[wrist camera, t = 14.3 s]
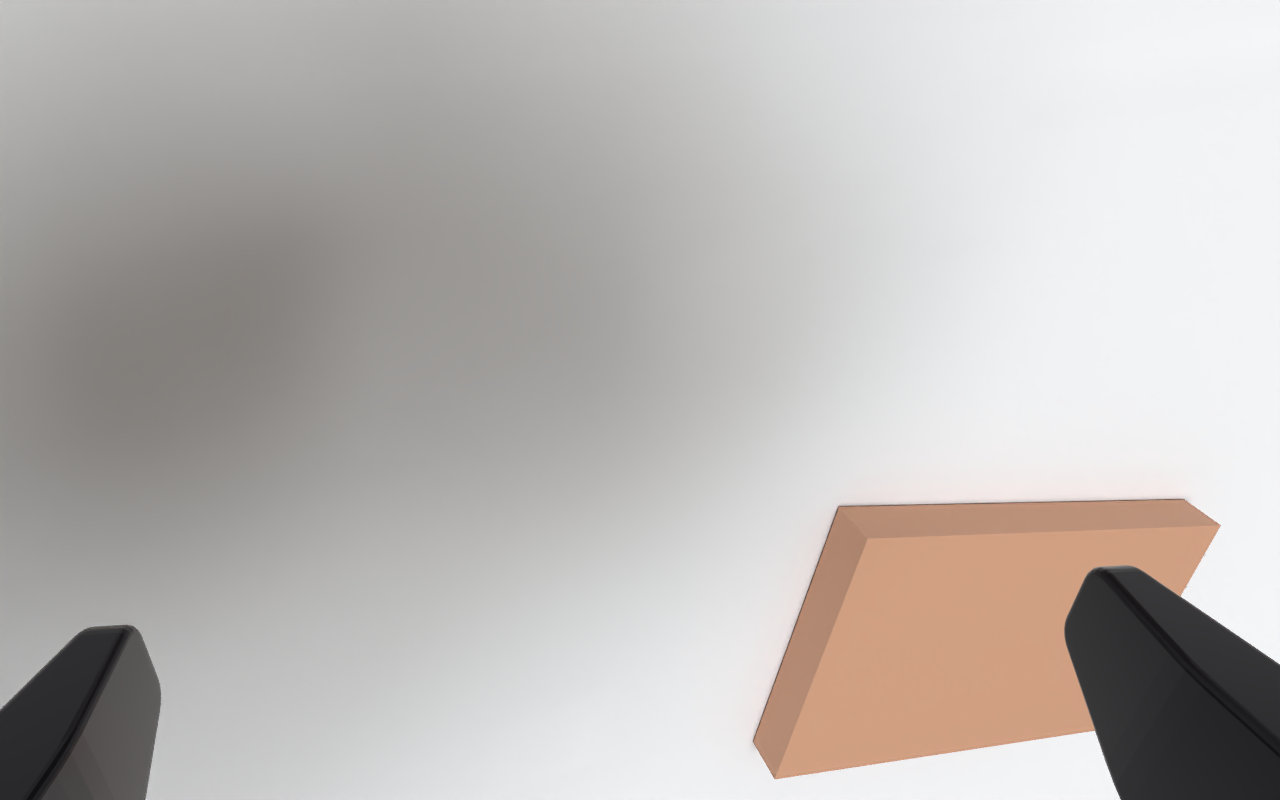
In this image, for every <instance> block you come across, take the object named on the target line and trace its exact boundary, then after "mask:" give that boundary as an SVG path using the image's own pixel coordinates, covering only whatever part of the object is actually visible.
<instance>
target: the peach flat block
mask: <svg viewBox="0 0 1280 800" xmlns="http://www.w3.org/2000/svg"><path fill="white" fill-rule="evenodd" d="M1220 526H1221V525H1219V524H1218V523H1217V522H1215V521H1214V520H1212V519H1211V518H1210V517H1208V516H1207V515H1205V514H1204V513H1203V512H1201V511H1200V510H1198V509H1197V508H1195V507H1194V506H1193V505H1191V504H1190V503H1188V502H1187V501H1186V500H1137V501H1090V502H1043V503H996V504H949V505H902V506H855V507H839V508H838V511H837V514H836V517H835V519H834V522H833V525H832V527H831V530H830V533H829V536H828V538H827V541H826V544H825V547H824V549H823V552H822V555H821V558H820V560H819V563H818V566H817V569H816V571H815V574H814V577H813V580H812V582H811V585H810V588H809V591H808V593H807V596H806V599H805V601H804V604H803V607H802V610H801V612H800V615H799V618H798V621H797V623H796V626H795V629H794V632H793V634H792V637H791V640H790V643H789V645H788V648H787V651H786V654H785V656H784V659H783V662H782V665H781V667H780V670H779V673H778V675H777V678H776V681H775V684H774V686H773V689H772V692H771V695H770V697H769V700H768V703H767V706H766V708H765V711H764V714H763V717H762V719H761V722H760V725H759V728H758V730H757V733H756V736H755V739H754V741H753V743H754V744H755V746H756V748H757V749H758V751H759V753H760V755H761V756H762V758H763V760H764V762H765V763H766V765H767V767H768V768H769V770H770V772H771V774H772V775H773V777H774V779H780V778H786V777H793V776H799V775H806V774H813V773H819V772H826V771H832V770H839V769H845V768H852V767H859V766H865V765H872V764H878V763H885V762H891V761H898V760H905V759H911V758H918V757H924V756H931V755H937V754H944V753H951V752H957V751H964V750H970V749H977V748H984V747H990V746H997V745H1003V744H1010V743H1016V742H1023V741H1030V740H1036V739H1043V738H1049V737H1056V736H1062V735H1069V734H1076V733H1082V732H1089V731H1095V729H1094V726H1093V723H1092V720H1091V717H1090V714H1089V711H1088V708H1087V705H1086V702H1085V699H1084V696H1083V693H1082V690H1081V688H1080V685H1079V682H1078V679H1077V676H1076V673H1075V670H1074V667H1073V664H1072V661H1071V658H1070V655H1069V652H1068V649H1067V646H1066V642H1065V636H1064V626H1065V620H1066V618H1067V615H1068V613H1069V611H1070V609H1071V607H1072V604H1073V602H1074V600H1075V598H1076V596H1077V594H1078V591H1079V589H1080V587H1081V585H1082V583H1083V581H1084V579H1085V577H1086V575H1087V573H1088V572H1089V571H1091V570H1092V569H1093V568H1096V567H1103V566H1120V565H1129V566H1134V567H1136V568H1139V569H1140V570H1142V571H1144V572H1145V573H1147V574H1148V575H1150V576H1151V577H1153V578H1154V579H1155V580H1157V581H1158V582H1160V583H1161V584H1163V585H1164V586H1166V587H1167V588H1169V589H1170V590H1172V591H1173V592H1174V593H1176V594H1177V595H1179V596H1181V594H1182V592H1183V591H1184V589H1185V587H1186V585H1187V584H1188V582H1189V580H1190V578H1191V577H1192V575H1193V573H1194V571H1195V570H1196V568H1197V566H1198V564H1199V563H1200V561H1201V559H1202V557H1203V556H1204V554H1205V552H1206V550H1207V549H1208V547H1209V545H1210V543H1211V542H1212V540H1213V538H1214V536H1215V535H1216V533H1217V531H1218V529H1219V528H1220Z"/></svg>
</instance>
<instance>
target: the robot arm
mask: <svg viewBox="0 0 1280 800" xmlns="http://www.w3.org/2000/svg"><path fill="white" fill-rule="evenodd" d="M1064 636H1065V642H1066V646H1067V649H1068V652H1069V655H1070V658H1071V661H1072V664H1073V667H1074V670H1075V673H1076V676H1077V679H1078V682H1079V685H1080V688H1081V690H1082V693H1083V696H1084V699H1085V702H1086V705H1087V708H1088V711H1089V714H1090V717H1091V720H1092V723H1093V726H1094V729H1095V732H1096V735H1097V737H1098V740H1099V743H1100V746H1101V749H1102V752H1103V755H1104V758H1105V761H1106V764H1107V766H1108V769H1109V772H1110V774H1111V777H1112V780H1113V782H1114V785H1115V787H1116V790H1117V792H1118V794H1119V797H1120V799H1121V800H1280V664H1278V663H1277V662H1275V661H1274V660H1272V659H1271V658H1270V657H1268V656H1267V655H1265V654H1264V653H1262V652H1261V651H1259V650H1258V649H1256V648H1255V647H1253V646H1252V645H1251V644H1249V643H1248V642H1246V641H1245V640H1243V639H1242V638H1240V637H1239V636H1237V635H1236V634H1234V633H1233V632H1232V631H1230V630H1229V629H1227V628H1226V627H1224V626H1223V625H1221V624H1220V623H1218V622H1217V621H1215V620H1214V619H1213V618H1211V617H1210V616H1208V615H1207V614H1205V613H1204V612H1202V611H1201V610H1199V609H1198V608H1196V607H1195V606H1194V605H1192V604H1191V603H1189V602H1188V601H1186V600H1185V599H1183V598H1182V597H1180V596H1179V595H1177V594H1176V593H1174V592H1173V591H1172V590H1170V589H1169V588H1167V587H1166V586H1164V585H1163V584H1161V583H1160V582H1158V581H1157V580H1155V579H1154V578H1153V577H1151V576H1150V575H1148V574H1147V573H1145V572H1144V571H1142V570H1140V569H1139V568H1136V567H1134V566H1129V565H1120V566H1103V567H1096V568H1093V569H1092V570H1091V571H1089V572H1088V573H1087V575H1086V577H1085V579H1084V581H1083V583H1082V585H1081V587H1080V589H1079V591H1078V594H1077V596H1076V598H1075V600H1074V602H1073V604H1072V607H1071V609H1070V611H1069V613H1068V615H1067V618H1066V620H1065V626H1064ZM160 706H161V689H160V683H159V680H158V677H157V674H156V672H155V669H154V667H153V664H152V661H151V659H150V656H149V654H148V651H147V649H146V646H145V643H144V641H143V638H142V636H141V634H140V632H139V630H137V629H136V628H135V627H134V626H131V625H116V626H99V627H90V628H87V629H85V630H83V631H81V632H80V633H78V634H77V635H76V636H75V637H74V638H73V639H72V640H71V641H70V642H69V643H68V644H67V645H66V646H65V647H64V648H63V649H62V650H61V651H60V652H59V653H58V654H57V655H55V656H54V657H53V658H52V659H51V660H50V661H49V662H48V663H47V664H46V665H45V666H44V667H43V668H42V669H41V670H40V671H39V672H38V673H37V674H36V675H35V676H34V677H33V678H32V679H31V680H30V681H29V682H28V683H27V684H26V685H25V686H24V687H23V688H22V689H21V690H20V691H19V692H18V693H17V694H16V695H15V696H14V697H13V698H12V699H11V700H10V701H9V702H8V703H7V704H6V705H5V706H4V707H3V708H2V709H1V710H0V800H145V799H146V793H147V787H148V780H149V774H150V768H151V762H152V756H153V750H154V744H155V738H156V732H157V726H158V719H159V713H160Z"/></svg>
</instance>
